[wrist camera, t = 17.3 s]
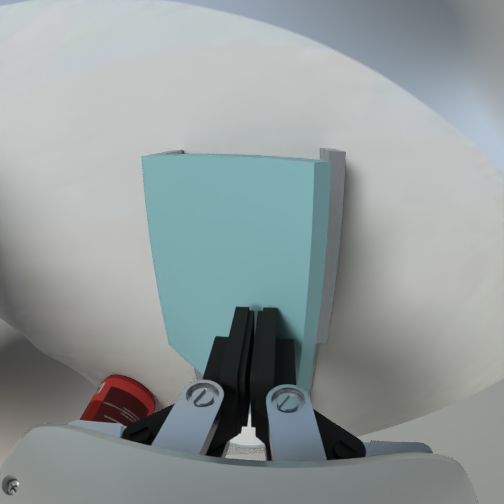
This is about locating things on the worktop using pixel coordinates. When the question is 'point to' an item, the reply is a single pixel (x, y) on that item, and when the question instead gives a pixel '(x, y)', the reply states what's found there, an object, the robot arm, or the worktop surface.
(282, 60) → the worktop surface
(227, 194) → the panel
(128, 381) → the canned food
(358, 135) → the worktop surface
